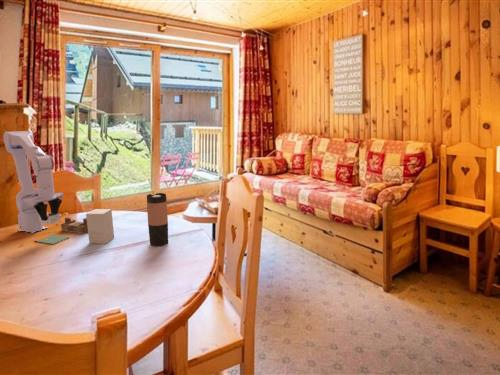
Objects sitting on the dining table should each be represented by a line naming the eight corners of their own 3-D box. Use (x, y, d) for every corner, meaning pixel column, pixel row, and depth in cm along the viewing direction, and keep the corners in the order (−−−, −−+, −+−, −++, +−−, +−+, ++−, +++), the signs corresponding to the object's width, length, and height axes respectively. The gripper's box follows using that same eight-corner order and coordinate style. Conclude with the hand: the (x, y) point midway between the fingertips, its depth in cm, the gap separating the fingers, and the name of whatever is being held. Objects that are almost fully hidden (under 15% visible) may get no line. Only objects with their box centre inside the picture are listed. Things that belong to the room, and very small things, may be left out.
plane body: (61, 230, 154) (60, 217, 153) (70, 227, 159) (69, 214, 157) (85, 233, 150) (83, 220, 149) (93, 230, 155) (92, 217, 153)
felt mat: (34, 241, 140) (34, 240, 140) (51, 235, 148) (51, 234, 148) (53, 244, 137) (53, 243, 137) (69, 238, 145) (69, 237, 144)
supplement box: (114, 237, 145) (112, 208, 142) (105, 244, 138) (103, 213, 135) (98, 237, 146) (95, 208, 143) (88, 243, 139) (85, 213, 136)
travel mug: (163, 247, 135) (161, 197, 131) (145, 245, 136) (142, 196, 132) (171, 240, 142) (169, 193, 138) (154, 239, 143) (152, 192, 139)
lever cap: (39, 222, 140) (38, 213, 139) (49, 219, 144) (48, 211, 143) (51, 224, 138) (50, 215, 137) (60, 221, 142) (59, 212, 141)
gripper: (36, 190, 130) (41, 224, 132) (67, 183, 143) (71, 214, 146) (23, 189, 132) (27, 222, 135) (54, 182, 145) (58, 213, 148)
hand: (49, 218), depth 140 cm, fingers closed on lever cap, 4 cm apart
